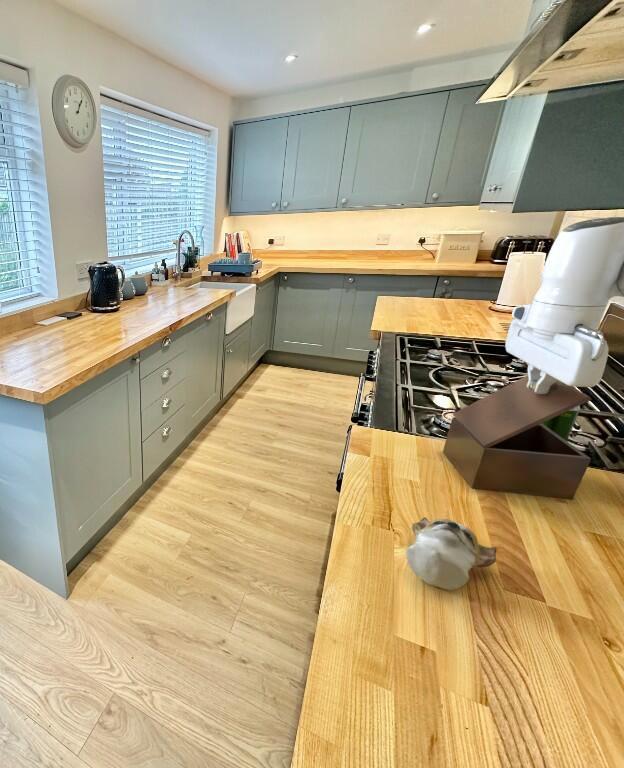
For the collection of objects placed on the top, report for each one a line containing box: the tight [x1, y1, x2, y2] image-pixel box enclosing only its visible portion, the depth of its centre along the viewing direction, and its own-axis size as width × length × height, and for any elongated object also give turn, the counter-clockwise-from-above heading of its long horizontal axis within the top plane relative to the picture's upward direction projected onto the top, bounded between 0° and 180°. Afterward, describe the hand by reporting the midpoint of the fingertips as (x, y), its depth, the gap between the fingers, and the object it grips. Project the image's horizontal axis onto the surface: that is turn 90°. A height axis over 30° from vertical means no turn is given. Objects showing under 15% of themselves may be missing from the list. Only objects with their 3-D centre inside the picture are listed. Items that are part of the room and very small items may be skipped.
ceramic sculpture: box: [405, 516, 497, 591], centre depth 63 cm, size 11×9×15 cm
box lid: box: [451, 374, 593, 448], centre depth 80 cm, size 16×14×1 cm
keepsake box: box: [442, 416, 592, 500], centre depth 83 cm, size 16×14×9 cm
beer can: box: [540, 405, 581, 442], centre depth 89 cm, size 5×5×12 cm
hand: (536, 391), depth 78 cm, fingers closed, pressing on box lid
